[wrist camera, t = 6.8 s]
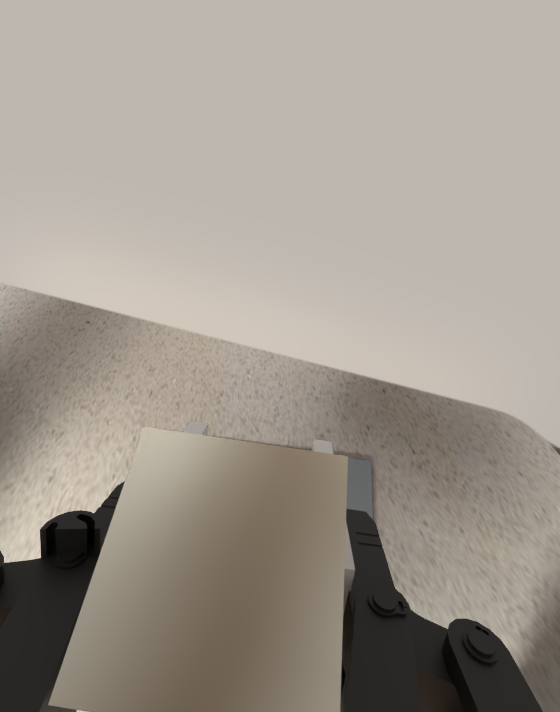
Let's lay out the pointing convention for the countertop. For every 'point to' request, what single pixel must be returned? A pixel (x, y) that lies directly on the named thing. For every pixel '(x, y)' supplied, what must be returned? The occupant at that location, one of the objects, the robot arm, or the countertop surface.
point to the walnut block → (215, 583)
